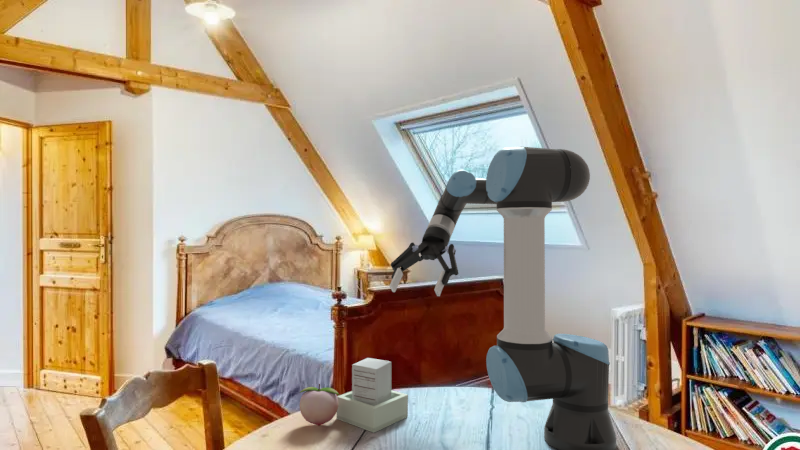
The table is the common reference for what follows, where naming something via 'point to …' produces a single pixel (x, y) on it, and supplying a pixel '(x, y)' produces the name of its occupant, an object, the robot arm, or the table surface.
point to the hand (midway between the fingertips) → (413, 291)
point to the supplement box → (371, 381)
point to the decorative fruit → (318, 404)
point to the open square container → (372, 411)
